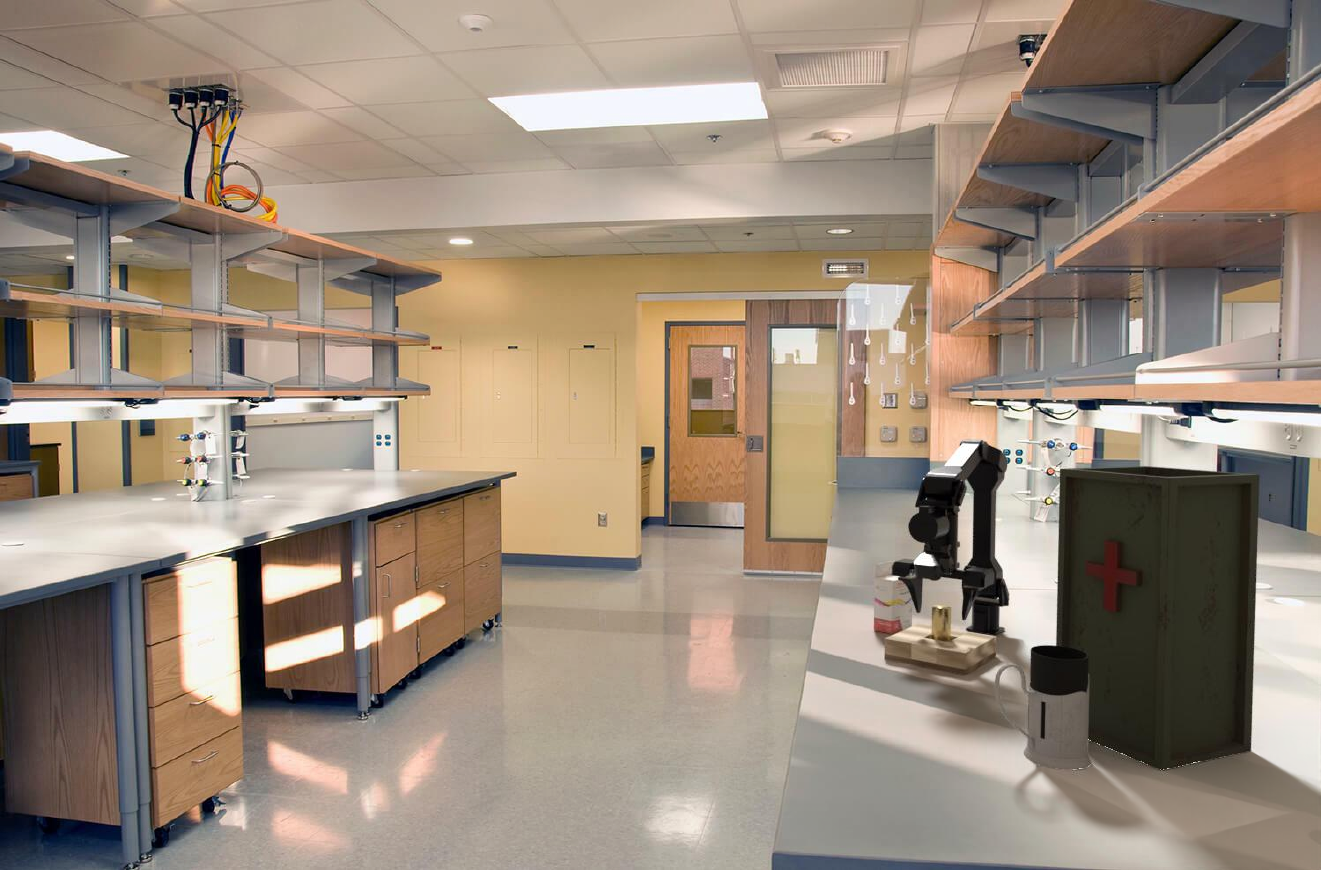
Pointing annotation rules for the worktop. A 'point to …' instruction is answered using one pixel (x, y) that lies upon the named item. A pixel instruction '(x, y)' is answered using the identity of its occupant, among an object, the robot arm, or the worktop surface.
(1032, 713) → the glass holder
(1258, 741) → the worktop surface
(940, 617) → the pin
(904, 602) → the ink cartridge box
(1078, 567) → the first aid box
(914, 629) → the bore block
